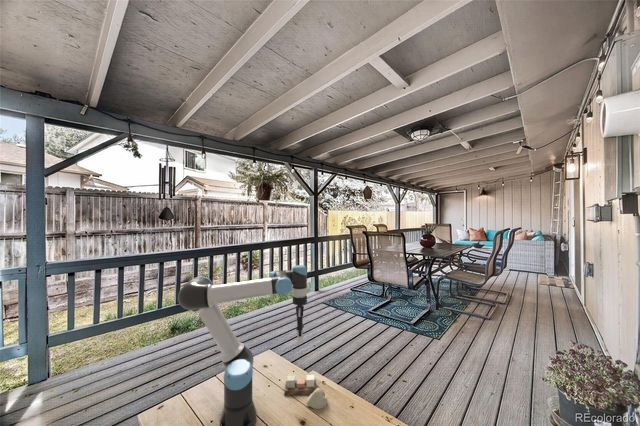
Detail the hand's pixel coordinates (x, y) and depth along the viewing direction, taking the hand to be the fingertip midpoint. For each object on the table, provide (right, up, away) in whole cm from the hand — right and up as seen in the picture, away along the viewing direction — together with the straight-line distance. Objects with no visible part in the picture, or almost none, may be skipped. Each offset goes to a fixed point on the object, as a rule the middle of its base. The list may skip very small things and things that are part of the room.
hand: (300, 341), depth 126 cm
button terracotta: (+1, -24, -1) cm, 24 cm away
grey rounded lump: (+9, -24, -11) cm, 28 cm away
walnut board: (0, -24, -1) cm, 24 cm away
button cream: (+5, -22, -1) cm, 23 cm away
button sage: (-5, -22, -1) cm, 22 cm away
